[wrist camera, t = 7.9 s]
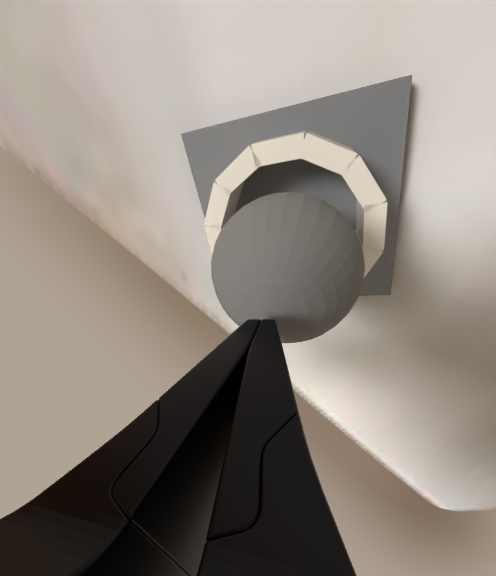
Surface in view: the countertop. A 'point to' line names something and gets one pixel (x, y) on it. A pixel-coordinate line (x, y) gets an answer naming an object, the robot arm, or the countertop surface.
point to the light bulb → (288, 265)
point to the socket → (314, 165)
